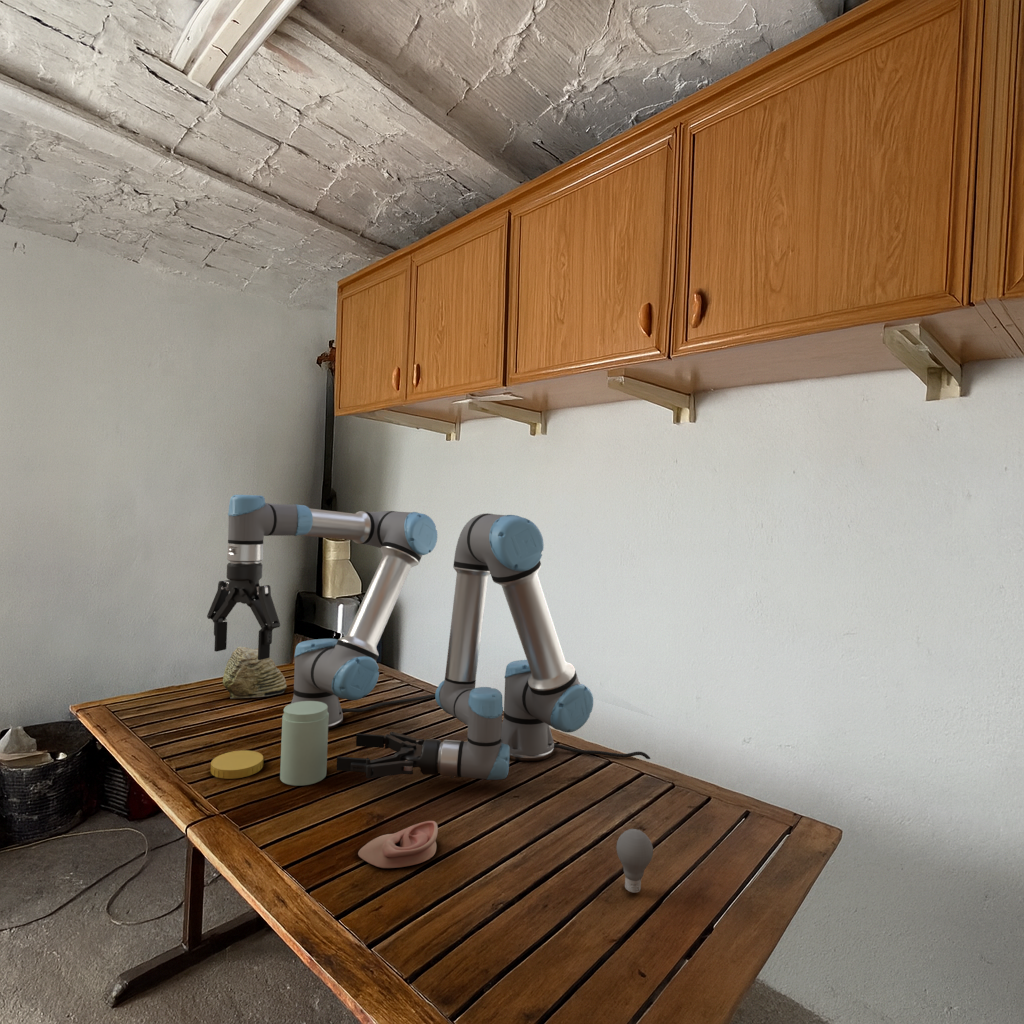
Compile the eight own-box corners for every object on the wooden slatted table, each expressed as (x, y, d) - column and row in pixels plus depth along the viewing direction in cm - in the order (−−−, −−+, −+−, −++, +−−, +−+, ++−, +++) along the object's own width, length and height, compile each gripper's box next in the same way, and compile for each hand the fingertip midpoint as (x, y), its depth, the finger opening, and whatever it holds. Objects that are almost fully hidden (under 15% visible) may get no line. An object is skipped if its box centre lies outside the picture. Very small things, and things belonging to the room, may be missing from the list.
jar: (307, 762, 150) (310, 697, 150) (335, 774, 145) (338, 706, 144) (270, 776, 142) (273, 707, 142) (298, 790, 136) (301, 718, 136)
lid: (205, 780, 139) (206, 771, 139) (215, 760, 150) (215, 751, 150) (260, 777, 142) (260, 768, 142) (265, 756, 153) (265, 748, 152)
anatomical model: (350, 840, 110) (378, 809, 121) (349, 863, 110) (377, 829, 121) (423, 852, 107) (444, 819, 118) (422, 875, 107) (443, 840, 118)
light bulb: (610, 879, 108) (613, 822, 108) (644, 879, 109) (647, 822, 109) (619, 902, 102) (622, 840, 102) (655, 901, 103) (658, 840, 103)
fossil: (218, 695, 195) (220, 647, 195) (278, 685, 208) (279, 640, 207) (228, 703, 189) (230, 653, 188) (289, 692, 201) (290, 645, 201)
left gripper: (192, 558, 147) (189, 650, 147) (273, 568, 136) (269, 666, 137) (219, 556, 153) (216, 643, 154) (298, 565, 143) (295, 658, 143)
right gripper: (428, 800, 129) (327, 792, 131) (448, 752, 154) (363, 746, 155) (430, 763, 129) (328, 756, 130) (450, 721, 154) (364, 715, 155)
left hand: (241, 654), depth 145 cm, fingers open, 13 cm apart
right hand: (347, 751), depth 143 cm, fingers open, 13 cm apart
